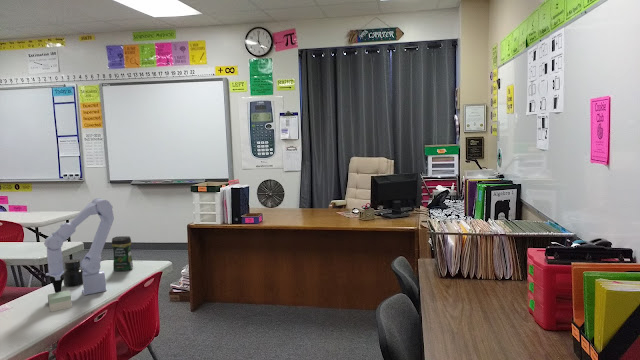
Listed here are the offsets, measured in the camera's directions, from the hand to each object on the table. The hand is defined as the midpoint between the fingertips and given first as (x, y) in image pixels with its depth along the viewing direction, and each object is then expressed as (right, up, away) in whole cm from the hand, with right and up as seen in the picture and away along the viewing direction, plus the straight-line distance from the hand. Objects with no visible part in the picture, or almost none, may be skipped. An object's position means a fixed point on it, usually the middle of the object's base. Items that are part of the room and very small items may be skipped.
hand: (58, 291), depth 200 cm
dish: (+6, -4, -8) cm, 11 cm away
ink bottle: (-5, -2, +22) cm, 22 cm away
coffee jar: (+10, +1, +45) cm, 46 cm away
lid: (+5, -1, -8) cm, 9 cm away
